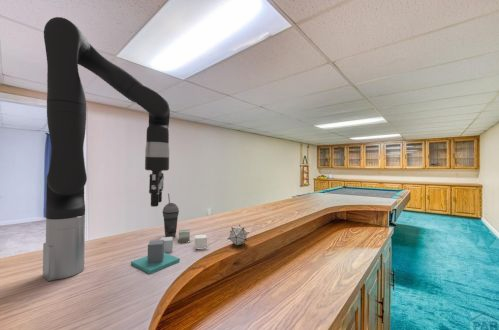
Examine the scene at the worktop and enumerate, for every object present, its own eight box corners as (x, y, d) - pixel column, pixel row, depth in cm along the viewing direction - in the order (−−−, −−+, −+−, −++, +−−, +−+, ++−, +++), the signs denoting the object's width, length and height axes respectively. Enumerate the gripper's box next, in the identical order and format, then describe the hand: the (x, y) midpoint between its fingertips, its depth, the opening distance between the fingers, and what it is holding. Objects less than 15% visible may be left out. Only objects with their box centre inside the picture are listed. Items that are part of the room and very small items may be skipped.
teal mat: (149, 274, 67) (149, 270, 67) (131, 264, 74) (131, 261, 74) (179, 261, 76) (179, 258, 76) (160, 253, 83) (160, 251, 83)
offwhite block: (206, 249, 88) (206, 237, 88) (195, 250, 87) (195, 238, 87) (205, 245, 93) (205, 234, 93) (194, 246, 91) (194, 235, 91)
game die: (237, 252, 95) (240, 229, 101) (251, 249, 90) (254, 226, 96) (221, 245, 90) (225, 222, 96) (235, 242, 85) (239, 218, 91)
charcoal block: (162, 262, 73) (162, 244, 73) (147, 263, 72) (147, 245, 72) (163, 256, 78) (164, 239, 78) (149, 258, 76) (150, 240, 76)
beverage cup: (175, 239, 99) (176, 194, 99) (159, 239, 99) (159, 194, 99) (180, 234, 106) (181, 192, 106) (165, 234, 106) (166, 192, 107)
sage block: (189, 242, 96) (189, 231, 96) (178, 242, 95) (178, 232, 95) (189, 238, 100) (189, 228, 101) (179, 239, 99) (179, 229, 99)
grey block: (172, 252, 85) (172, 240, 85) (159, 253, 84) (159, 241, 84) (172, 247, 89) (172, 236, 89) (160, 248, 88) (161, 237, 88)
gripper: (167, 155, 69) (166, 207, 69) (170, 157, 83) (170, 200, 83) (140, 155, 67) (139, 208, 67) (149, 157, 81) (148, 201, 81)
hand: (156, 204), depth 75 cm, fingers open, 8 cm apart
